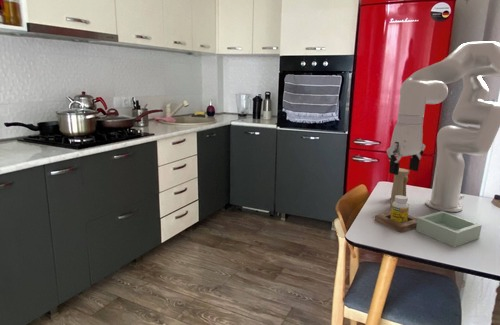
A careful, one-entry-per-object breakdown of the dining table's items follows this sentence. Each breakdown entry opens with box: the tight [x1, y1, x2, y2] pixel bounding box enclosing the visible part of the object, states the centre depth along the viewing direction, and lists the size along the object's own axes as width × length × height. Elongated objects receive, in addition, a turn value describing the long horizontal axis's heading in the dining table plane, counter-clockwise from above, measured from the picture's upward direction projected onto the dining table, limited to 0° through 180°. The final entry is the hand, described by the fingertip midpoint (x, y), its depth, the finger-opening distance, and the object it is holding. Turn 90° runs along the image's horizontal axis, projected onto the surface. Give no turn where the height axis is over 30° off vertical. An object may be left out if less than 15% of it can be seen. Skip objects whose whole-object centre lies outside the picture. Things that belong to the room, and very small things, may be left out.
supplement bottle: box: [390, 195, 410, 223], centre depth 120 cm, size 5×5×10 cm
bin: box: [415, 210, 482, 248], centre depth 113 cm, size 13×13×4 cm
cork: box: [402, 175, 409, 197], centre depth 143 cm, size 6×6×11 cm
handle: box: [390, 167, 410, 208], centre depth 134 cm, size 5×6×15 cm
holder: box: [374, 210, 418, 233], centre depth 121 cm, size 11×11×2 cm
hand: (403, 172), depth 117 cm, fingers open, 9 cm apart
